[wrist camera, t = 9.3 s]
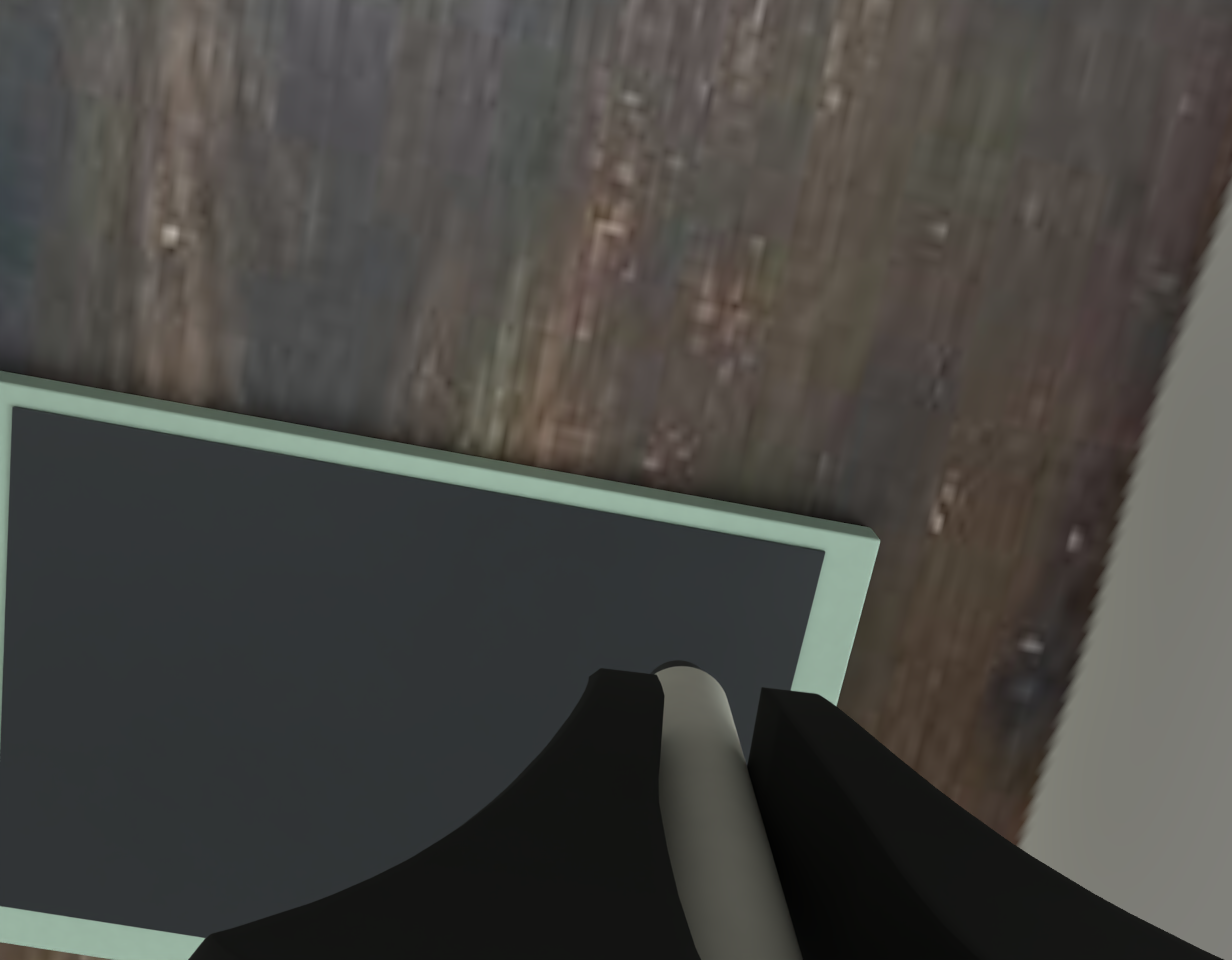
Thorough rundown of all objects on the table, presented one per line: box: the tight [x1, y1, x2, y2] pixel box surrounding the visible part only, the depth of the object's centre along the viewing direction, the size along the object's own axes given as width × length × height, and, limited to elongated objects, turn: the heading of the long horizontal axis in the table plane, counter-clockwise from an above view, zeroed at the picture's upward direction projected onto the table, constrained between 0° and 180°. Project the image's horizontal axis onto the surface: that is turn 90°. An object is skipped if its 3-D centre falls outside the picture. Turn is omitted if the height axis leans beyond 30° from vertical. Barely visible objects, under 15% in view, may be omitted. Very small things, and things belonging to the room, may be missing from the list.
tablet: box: [0, 371, 880, 960], centre depth 21 cm, size 17×12×1 cm
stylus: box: [650, 660, 803, 960], centre depth 9 cm, size 1×1×10 cm
